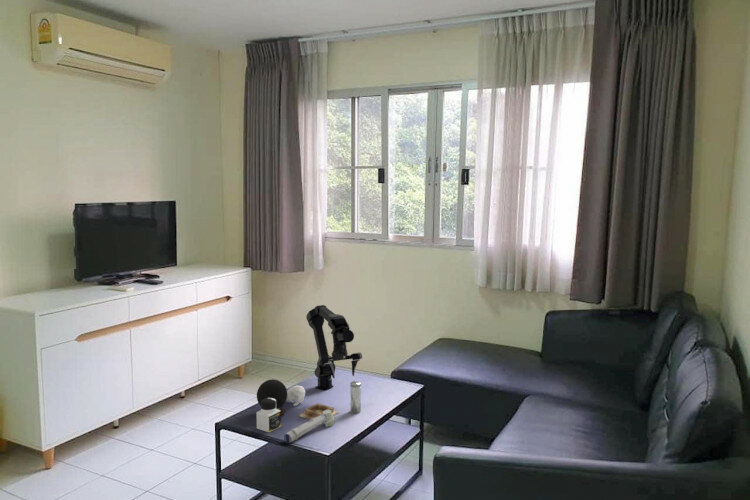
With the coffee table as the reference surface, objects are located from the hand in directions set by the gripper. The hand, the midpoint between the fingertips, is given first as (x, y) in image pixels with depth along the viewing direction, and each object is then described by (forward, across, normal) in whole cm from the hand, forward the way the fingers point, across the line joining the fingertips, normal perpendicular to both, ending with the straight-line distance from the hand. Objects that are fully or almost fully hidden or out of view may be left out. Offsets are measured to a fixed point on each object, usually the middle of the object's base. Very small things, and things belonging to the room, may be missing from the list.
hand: (343, 377), depth 249 cm
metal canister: (+15, +5, -8) cm, 17 cm away
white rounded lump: (+9, -25, -4) cm, 26 cm away
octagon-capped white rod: (+18, -9, -31) cm, 37 cm away
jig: (+14, -9, -14) cm, 22 cm away
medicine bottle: (+14, -26, -30) cm, 43 cm away
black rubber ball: (+11, -30, -16) cm, 36 cm away
